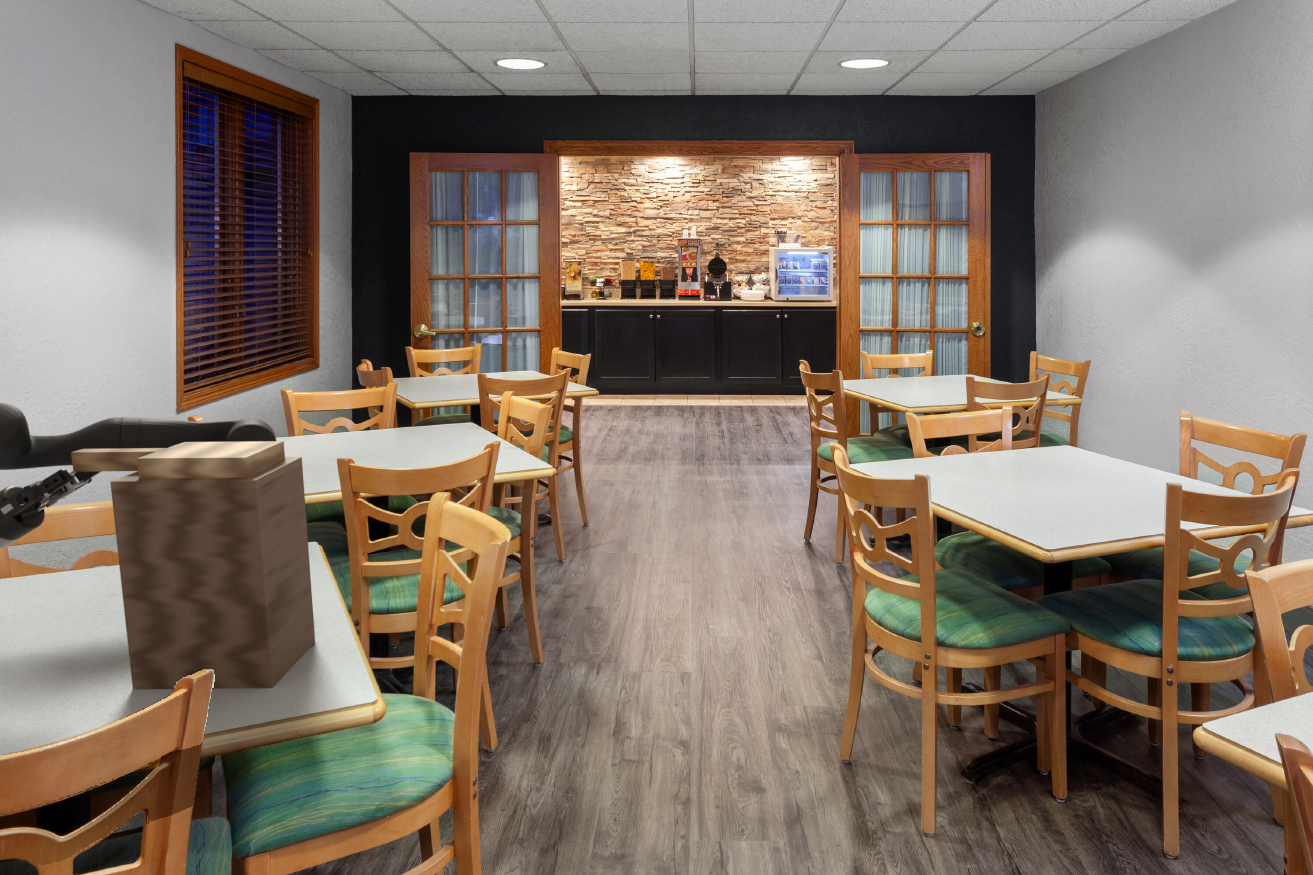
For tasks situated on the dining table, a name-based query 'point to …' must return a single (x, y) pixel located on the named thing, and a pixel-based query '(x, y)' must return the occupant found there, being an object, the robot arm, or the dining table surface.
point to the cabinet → (215, 576)
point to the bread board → (185, 459)
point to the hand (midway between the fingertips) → (85, 468)
